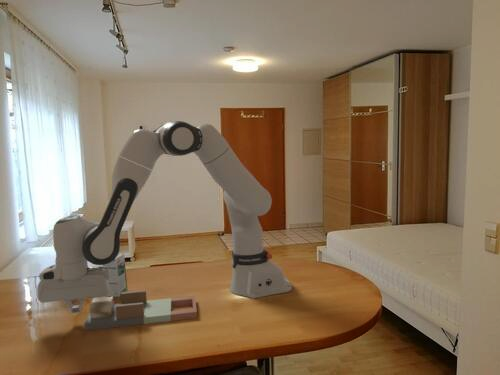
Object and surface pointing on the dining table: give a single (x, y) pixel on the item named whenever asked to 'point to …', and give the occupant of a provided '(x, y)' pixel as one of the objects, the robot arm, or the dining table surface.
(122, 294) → the board
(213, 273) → the dining table surface
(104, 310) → the birch block
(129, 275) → the dining table surface
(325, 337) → the dining table surface
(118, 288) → the syrup box
